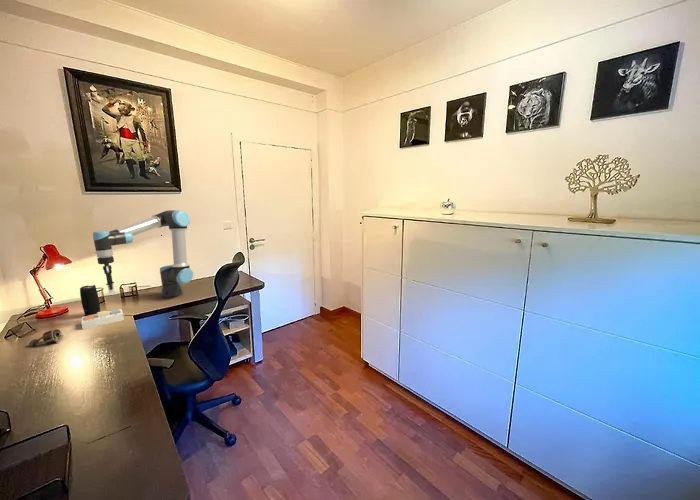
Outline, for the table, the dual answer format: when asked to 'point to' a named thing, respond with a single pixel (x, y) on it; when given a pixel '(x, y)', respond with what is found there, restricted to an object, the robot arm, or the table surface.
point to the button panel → (102, 319)
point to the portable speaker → (89, 300)
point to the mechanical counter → (48, 337)
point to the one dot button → (114, 312)
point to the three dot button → (89, 317)
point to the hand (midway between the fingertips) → (112, 294)
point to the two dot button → (102, 313)
